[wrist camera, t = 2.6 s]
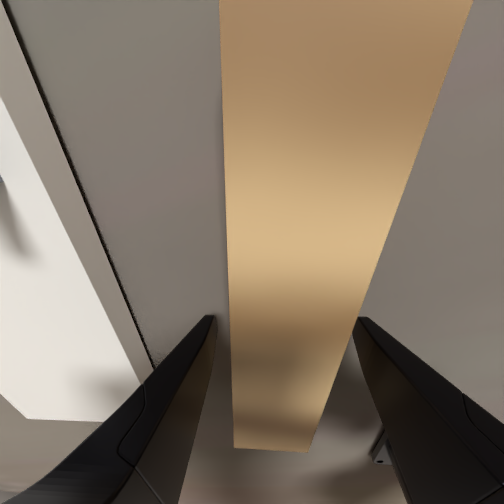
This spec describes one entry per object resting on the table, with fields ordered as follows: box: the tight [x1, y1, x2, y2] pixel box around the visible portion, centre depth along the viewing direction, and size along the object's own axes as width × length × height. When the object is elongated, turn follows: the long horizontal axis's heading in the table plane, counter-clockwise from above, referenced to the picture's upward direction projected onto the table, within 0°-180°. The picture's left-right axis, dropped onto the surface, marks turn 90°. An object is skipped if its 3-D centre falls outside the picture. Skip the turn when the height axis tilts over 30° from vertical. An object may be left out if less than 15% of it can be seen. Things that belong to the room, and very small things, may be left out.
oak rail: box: [219, 0, 473, 453], centre depth 9 cm, size 18×4×3 cm, turn 178°
